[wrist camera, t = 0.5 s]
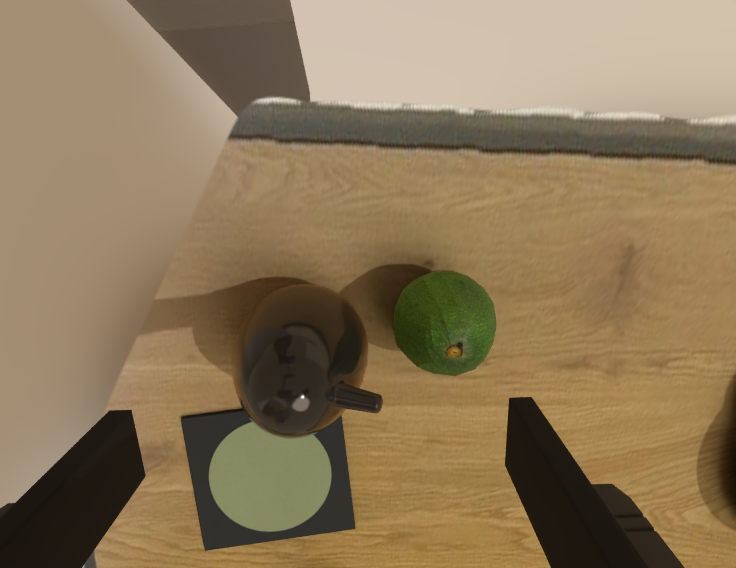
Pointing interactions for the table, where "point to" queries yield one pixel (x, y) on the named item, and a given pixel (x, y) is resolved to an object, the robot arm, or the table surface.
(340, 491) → the placemat
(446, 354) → the avocado
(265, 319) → the pump dispenser
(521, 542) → the table surface
